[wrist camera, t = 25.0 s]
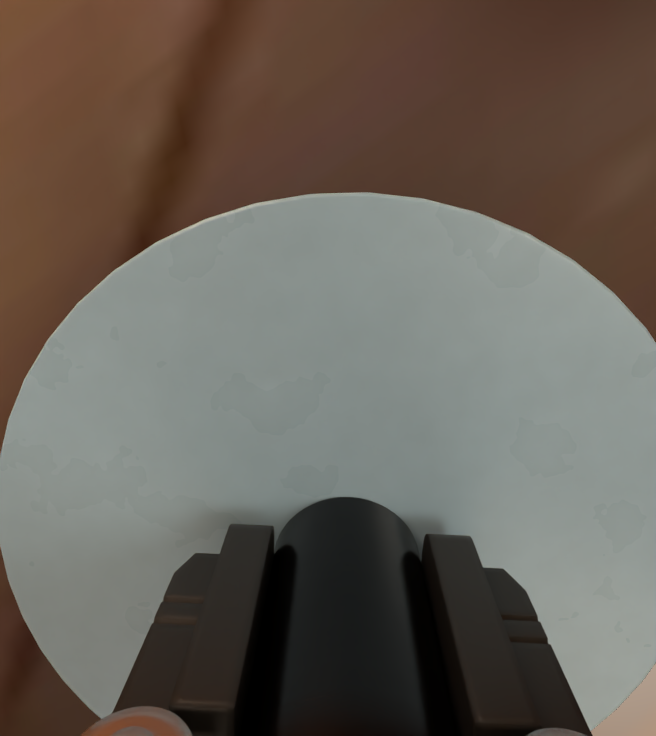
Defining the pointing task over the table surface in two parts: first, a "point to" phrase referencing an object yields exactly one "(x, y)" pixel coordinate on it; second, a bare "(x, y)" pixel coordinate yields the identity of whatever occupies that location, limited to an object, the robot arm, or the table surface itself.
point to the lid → (340, 454)
